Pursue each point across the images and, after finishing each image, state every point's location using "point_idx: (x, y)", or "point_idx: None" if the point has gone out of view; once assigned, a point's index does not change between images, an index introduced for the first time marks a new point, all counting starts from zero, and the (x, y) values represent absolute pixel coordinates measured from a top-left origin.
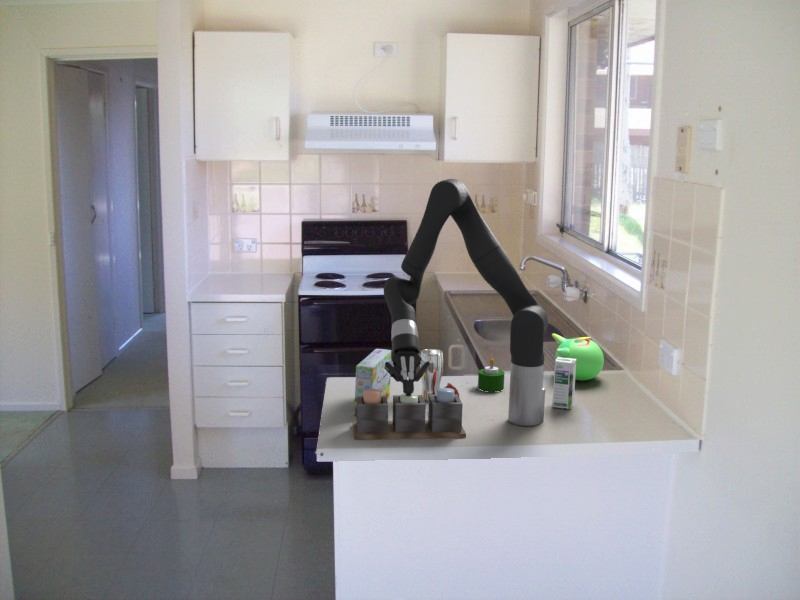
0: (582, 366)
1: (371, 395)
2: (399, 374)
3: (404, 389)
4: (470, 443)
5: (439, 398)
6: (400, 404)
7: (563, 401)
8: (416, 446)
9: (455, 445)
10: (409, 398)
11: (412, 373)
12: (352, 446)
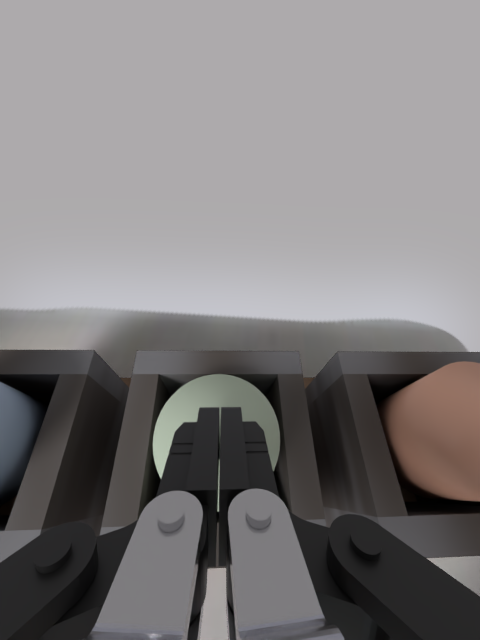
0: None
1: (468, 365)
2: (361, 569)
3: (256, 430)
4: (42, 333)
5: (16, 397)
6: (274, 355)
7: None
8: (212, 323)
9: (96, 322)
10: (222, 381)
11: (125, 607)
12: (388, 334)
